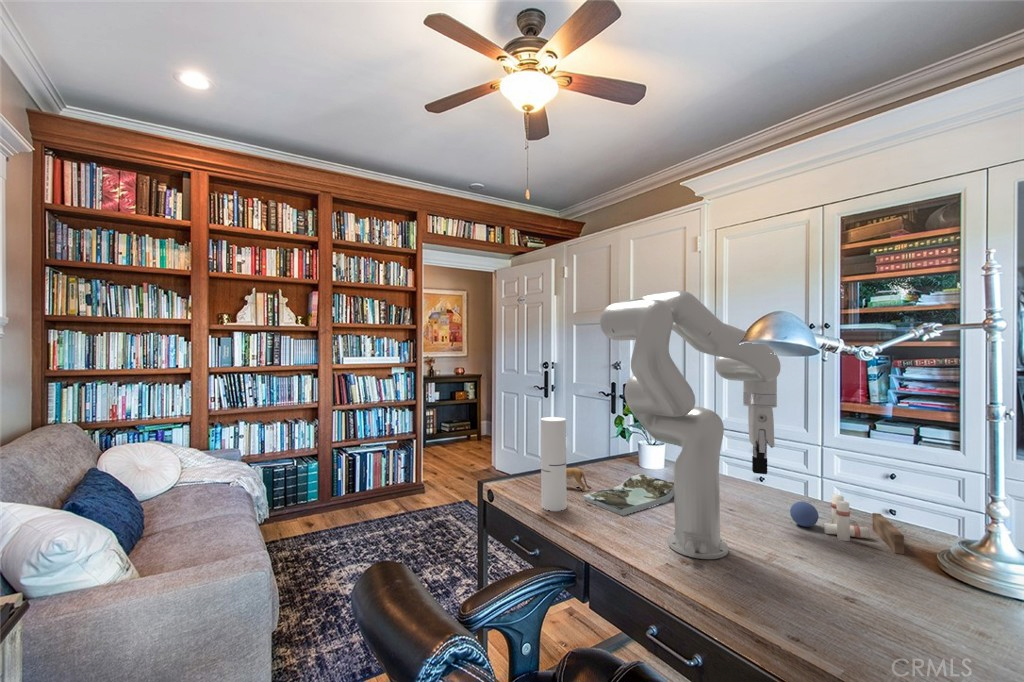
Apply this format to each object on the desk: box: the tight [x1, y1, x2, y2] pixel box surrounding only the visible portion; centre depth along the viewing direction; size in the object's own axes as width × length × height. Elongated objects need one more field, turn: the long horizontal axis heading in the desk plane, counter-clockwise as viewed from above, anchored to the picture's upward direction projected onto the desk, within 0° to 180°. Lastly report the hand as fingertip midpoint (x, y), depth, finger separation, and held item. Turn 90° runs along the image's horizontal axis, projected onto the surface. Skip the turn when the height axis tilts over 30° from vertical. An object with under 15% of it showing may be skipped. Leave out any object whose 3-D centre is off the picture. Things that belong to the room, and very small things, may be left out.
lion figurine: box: [566, 466, 592, 492], centre depth 146 cm, size 15×5×9 cm, turn 72°
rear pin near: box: [836, 501, 851, 542], centre depth 105 cm, size 3×3×8 cm
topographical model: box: [582, 473, 674, 517], centre depth 134 cm, size 26×15×5 cm, turn 124°
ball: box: [789, 500, 819, 528], centre depth 113 cm, size 6×6×6 cm
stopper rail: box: [872, 512, 905, 555], centre depth 104 cm, size 14×2×4 cm, turn 157°
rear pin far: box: [830, 493, 844, 524], centre depth 110 cm, size 3×3×8 cm
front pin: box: [823, 522, 871, 539], centre depth 107 cm, size 3×3×8 cm
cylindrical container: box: [540, 416, 568, 512], centre depth 129 cm, size 7×7×25 cm
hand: (759, 472), depth 114 cm, fingers closed
